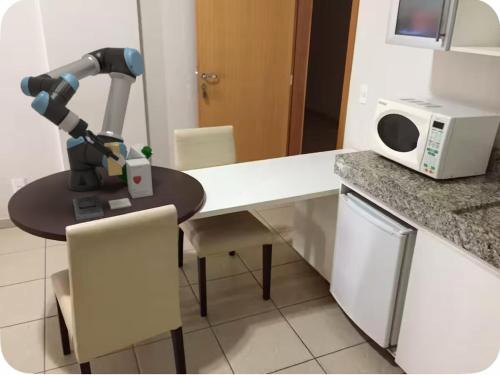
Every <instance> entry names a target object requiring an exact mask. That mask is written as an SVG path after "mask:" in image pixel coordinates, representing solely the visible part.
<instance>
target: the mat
mask: <svg viewBox="0 0 500 375" xmlns="http://www.w3.org/2000/svg"><path fill="white" fill-rule="evenodd" d="M108 204H109V206H110V210H116V209H117V210H118V209H122V208H123V209H124V208H129V207H130V208H131V207H132V204H131V202H130V199H129V198H128V197H126V198H120V199H113V200H108Z"/></svg>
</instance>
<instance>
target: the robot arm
mask: <svg viewBox="0 0 500 375" xmlns="http://www.w3.org/2000/svg"><path fill="white" fill-rule="evenodd" d="M144 70H145V64H144V59H143V56H142V54H141V52H139V50H137V49H136V48H131V47H109V46H107V47H102V48H99V49H96V50H93V51H90V52H89V53H85V54H83V55H82V56H81V58H80V59H77V60H75V61H72V62H70V63H67V64H65V65H63V66H62V65H61V66H59V67H58V68H54V69H53V70H50V71H47V72H45V73H42V74H40V75H37V76H25V77H23V78H21V81H20V83H19V84H20V85H19V86H20V89H21V92H22V93H23V95H25V96H27V97H31V98H34V99H32V102H31V103H30V108H32V109H33V110H34V111H35V112H37V113H38V114H39V115H40V116H42V117H43V118H45V119H46V120H48V121H49V122H51V123H52V124H54V125H55V126H56V127H57V128H58V130H59V131H60V130H62V131H63V132H65V133H67V135H69V136H70V137H69V138H68V139H67V140H66V142H65V143H66V152H67V153H66V154H67V157H68V163H69V169H70V170H69V176H68V182H67V183H68V184H67V185H68V189H69V190H71V191H75V192H88V191H93V190H96V189H98V188H101V187H103V186H104V178H103V176H102V174H101V172H100V170H99V168H105V169H107V162H106V156H107V158H109V157H110V158H111V159H112V160H114V161H115V162H117V163H118V164H119V165H121V168H122V167H123V166H124V164H125V163H126V162H127V161H126V158H127V156H128V150H127V146H126V144H125V143H124V142H125V139H124V138H123V136H122V133H123V128H124V123H125V120H126V113H127V109H128V108H127V107H128V104H129V99H130V93H131V88H132V85H133V84H135V83H136V80H137V77H139V76H141V75H142V74H143V73H144ZM106 74H107V75H108V76H109V78H110V79H111V81H110V86H109V91H108V94H107V101H106V105H105V110H104V115H103V120H102V125H101V131H100V132H98V133H97V134H95V133H94V132H93V131H92V130H90V129H88V127H89V123H88V122H86V121H85V120H84V119H83V118H80V117H79V115H78V114H76V113H75V112H74V111H72V110H70V109H69V108H68V107H67V105H68V103H69V102H70V101H71V100H72V98H73V96H74V95H76V93H77V92H78V89H79V88H80V82H79V81H81V80H83V79H85V78H87V77H90V76H91V77H95V76H98V75H106ZM113 142H117V143H118V144H119V150H120V156H119V155H118V154H116V153H115V152H114V151H111V150H110V149H109V148H107V147H106V146H105V145H104V143H113Z"/></svg>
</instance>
